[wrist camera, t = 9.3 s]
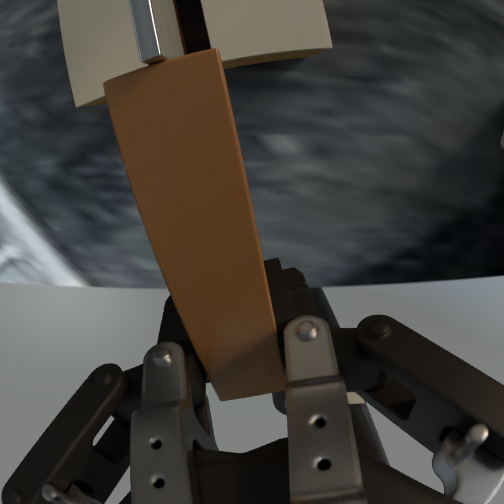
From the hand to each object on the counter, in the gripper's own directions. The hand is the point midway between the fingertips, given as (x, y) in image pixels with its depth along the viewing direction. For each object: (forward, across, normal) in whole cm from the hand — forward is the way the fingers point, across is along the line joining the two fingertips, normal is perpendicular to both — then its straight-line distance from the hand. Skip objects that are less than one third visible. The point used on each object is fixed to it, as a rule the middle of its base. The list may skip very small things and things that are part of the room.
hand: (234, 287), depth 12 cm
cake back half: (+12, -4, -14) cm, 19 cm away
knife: (0, 0, -9) cm, 9 cm away
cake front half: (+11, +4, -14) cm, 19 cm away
